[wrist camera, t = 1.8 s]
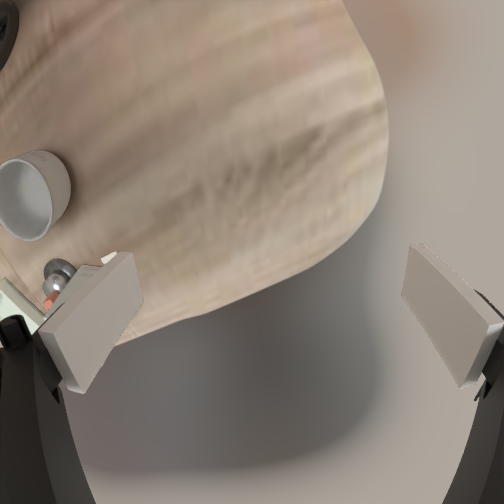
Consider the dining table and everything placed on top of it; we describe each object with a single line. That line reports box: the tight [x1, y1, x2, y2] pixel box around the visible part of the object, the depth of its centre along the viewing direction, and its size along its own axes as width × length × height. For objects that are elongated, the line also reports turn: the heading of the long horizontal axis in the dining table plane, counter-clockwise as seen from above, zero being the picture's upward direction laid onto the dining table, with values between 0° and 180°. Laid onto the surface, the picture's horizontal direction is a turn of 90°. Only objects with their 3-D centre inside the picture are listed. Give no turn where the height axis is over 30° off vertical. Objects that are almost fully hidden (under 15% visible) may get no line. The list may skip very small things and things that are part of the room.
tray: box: [0, 278, 45, 335], centre depth 43 cm, size 13×13×3 cm
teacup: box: [0, 150, 71, 242], centre depth 30 cm, size 14×11×8 cm
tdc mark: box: [101, 251, 117, 264], centre depth 39 cm, size 3×1×1 cm, turn 112°
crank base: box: [43, 259, 77, 297], centre depth 39 cm, size 8×8×4 cm
